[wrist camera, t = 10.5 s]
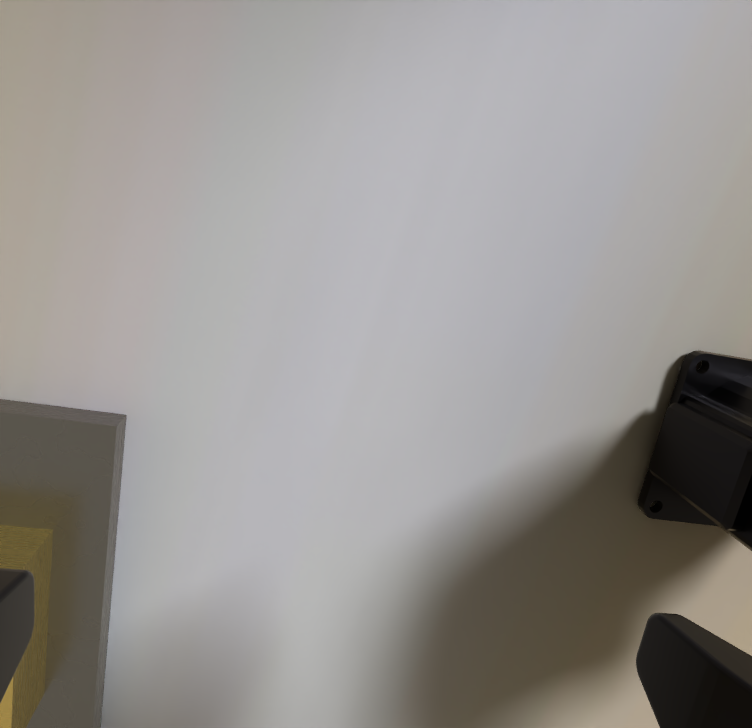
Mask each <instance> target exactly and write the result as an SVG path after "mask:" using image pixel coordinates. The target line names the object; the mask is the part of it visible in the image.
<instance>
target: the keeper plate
mask: <svg viewBox="0 0 752 728" xmlns="http://www.w3.org/2000/svg"><path fill="white" fill-rule="evenodd" d="M125 426H126V415H122V414H114V413H106V412H98V411H90V410H82V409H74V408H66V407H58V406H50V405H42V404H34V403H26V402H18V401H10V400H2V399H0V525H10V526H20V527H31V528H42V529H52V530H53V539H52V558H51V576H50V595H49V613H48V632H47V650H46V668H45V687H44V695H43V697H42V699H41V701H40V703H39V704H38V706H37V708H36V710H35V712H34V714H33V716H32V717H31V719H30V721H29V723H28V725H27V727H26V728H100V726H101V714H102V702H103V690H104V678H105V666H106V654H107V642H108V630H109V618H110V606H111V594H112V582H113V570H114V558H115V546H116V534H117V522H118V510H119V498H120V486H121V474H122V462H123V450H124V438H125Z"/></svg>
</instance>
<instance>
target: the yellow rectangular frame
mask: <svg viewBox="0 0 752 728" xmlns="http://www.w3.org/2000/svg"><path fill="white" fill-rule="evenodd" d="M52 539H53V530H52V529H42V528H31V527H20V526H10V525H0V569H1V568H5V569H19V570H29V571H30V572H31V573H32V574H33V577H34V628H33V632H32V636H31V639H30V641H29V644H28V646H27V648H26V650H25V652H24V654H23V656H22V659H21V661H20V663H19V665H18V667H17V669H16V671H15V673H14V675H13V678H12V680H11V682H10V684H9V686H8V688H7V690H6V692H5V694H4V697H3V699H2V701H1V703H0V728H26V727H27V725H28V723H29V721H30V719H31V717H32V716H33V714H34V712H35V710H36V708H37V706H38V704H39V703H40V701H41V699H42V697H43V695H44V687H45V668H46V650H47V632H48V613H49V595H50V576H51V558H52Z"/></svg>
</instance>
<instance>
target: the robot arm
mask: <svg viewBox="0 0 752 728" xmlns="http://www.w3.org/2000/svg"><path fill="white" fill-rule="evenodd" d="M700 361H702V365H701V367H700V369H698V370H697V371H696V365H697V364H698V362H700ZM654 501H656V503H655V505H654V506H652V507H650V505H651V503H652V502H654ZM638 507H639V509H640V510H641V511H642V512H643V513H644V514H645V515H646V516H647V517H649V518H652V519H661V520H670V521H679V522H688V523H696V524H705V525H714V526H720V527H721V528H722V529H724V530H725V531H726V532H727V533H729V534H730V535H731V536H733V537H734V538H735V539H737V540H738V541H739V542H740V543H742V544H743V545H744V546H746V547H747V548H748V549H750V550H751V551H752V360H751V359H746V358H740V357H734V356H728V355H722V354H716V353H710V352H704V351H693V352H691V353H689V354H688V355H687V356H686V357H685V359H684V361H683V363H682V366H681V369H680V372H679V375H678V379H677V382H676V385H675V388H674V391H673V394H672V397H671V400H670V403H669V406H668V409H667V411H666V415H665V418H664V421H663V424H662V427H661V430H660V433H659V436H658V439H657V442H656V445H655V449H654V452H653V455H652V458H651V461H650V464H649V468H648V471H647V474H646V478H645V481H644V484H643V487H642V490H641V493H640V496H639V499H638ZM33 628H34V577H33V574H32V573H31V572H30V571H29V570H19V569H5V568H1V569H0V703H1V701H2V699H3V697H4V694H5V692H6V690H7V688H8V686H9V684H10V682H11V680H12V678H13V675H14V673H15V671H16V669H17V667H18V665H19V663H20V661H21V659H22V656H23V654H24V652H25V650H26V648H27V646H28V644H29V641H30V639H31V636H32V632H33ZM636 666H637V672H638V675H639V678H640V680H641V683H642V685H643V687H644V690H645V692H646V695H647V697H648V700H649V702H650V705H651V707H652V709H653V712H654V714H655V717H656V719H657V722H658V724H659V726H660V728H752V656H750V655H749V654H747V653H745V652H744V651H742V650H740V649H738V648H737V647H735V646H733V645H731V644H730V643H728V642H726V641H725V640H723V639H721V638H719V637H718V636H716V635H714V634H712V633H711V632H709V631H707V630H706V629H704V628H702V627H700V626H699V625H697V624H695V623H693V622H692V621H690V620H688V619H687V618H685V617H683V616H681V615H678V614H667V613H655V614H652V615H651V616H650V617H649V619H648V621H647V624H646V627H645V630H644V634H643V637H642V640H641V643H640V647H639V650H638V653H637V657H636Z"/></svg>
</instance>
